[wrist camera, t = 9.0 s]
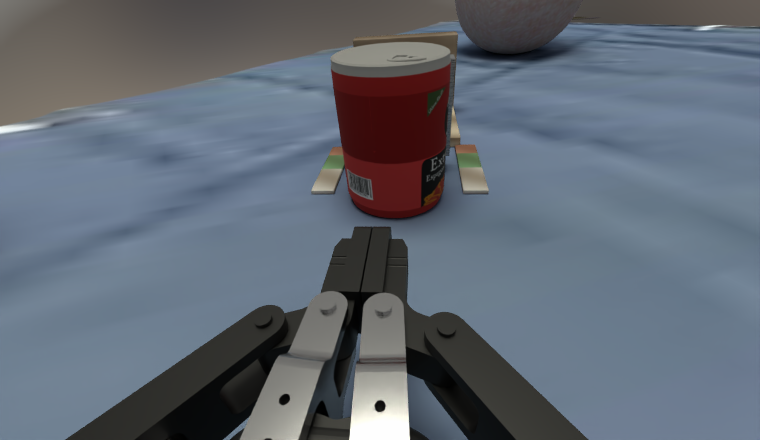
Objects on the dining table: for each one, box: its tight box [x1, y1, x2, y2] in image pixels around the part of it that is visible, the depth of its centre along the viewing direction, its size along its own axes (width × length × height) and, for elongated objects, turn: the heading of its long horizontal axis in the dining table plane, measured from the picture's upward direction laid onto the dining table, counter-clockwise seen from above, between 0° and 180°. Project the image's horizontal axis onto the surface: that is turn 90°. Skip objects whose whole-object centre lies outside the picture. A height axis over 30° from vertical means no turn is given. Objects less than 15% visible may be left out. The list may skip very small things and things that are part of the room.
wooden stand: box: [311, 32, 489, 194], centre depth 34 cm, size 22×15×9 cm
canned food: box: [331, 42, 451, 218], centre depth 25 cm, size 8×8×11 cm
